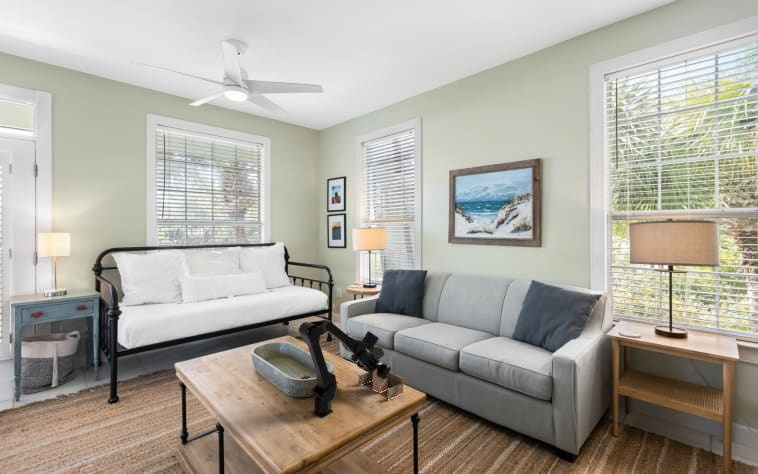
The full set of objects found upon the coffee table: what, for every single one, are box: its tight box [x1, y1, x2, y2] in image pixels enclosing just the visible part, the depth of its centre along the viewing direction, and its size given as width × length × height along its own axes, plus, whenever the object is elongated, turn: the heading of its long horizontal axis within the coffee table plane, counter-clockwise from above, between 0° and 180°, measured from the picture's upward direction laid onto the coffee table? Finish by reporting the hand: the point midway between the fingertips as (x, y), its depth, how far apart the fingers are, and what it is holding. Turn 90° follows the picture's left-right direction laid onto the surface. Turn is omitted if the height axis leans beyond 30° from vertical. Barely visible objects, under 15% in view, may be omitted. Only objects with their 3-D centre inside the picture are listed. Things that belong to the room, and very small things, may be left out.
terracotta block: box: [372, 362, 388, 392], centre depth 168 cm, size 5×5×12 cm
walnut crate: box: [358, 371, 404, 400], centre depth 168 cm, size 9×21×8 cm, turn 42°
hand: (382, 375), depth 169 cm, fingers open, 6 cm apart
